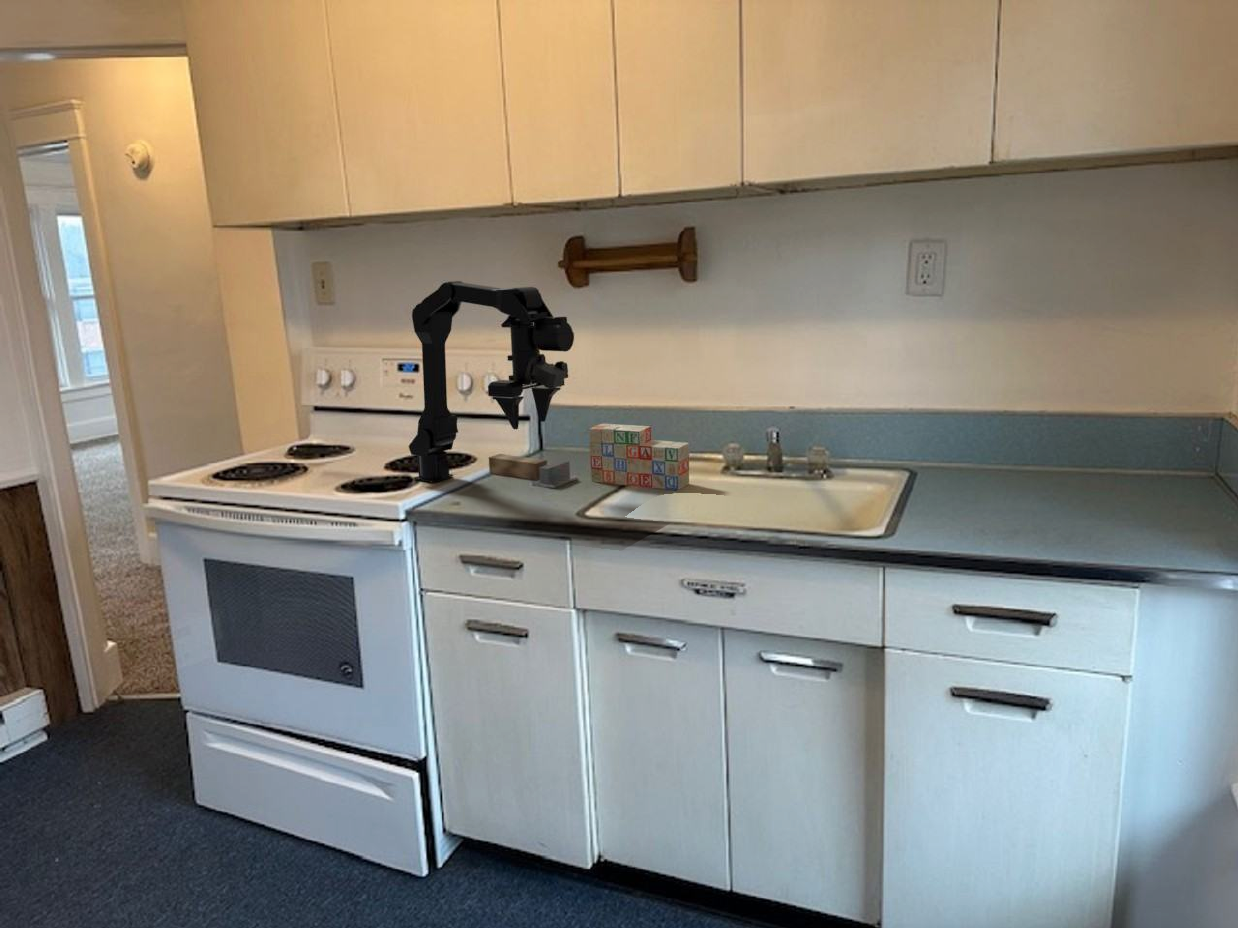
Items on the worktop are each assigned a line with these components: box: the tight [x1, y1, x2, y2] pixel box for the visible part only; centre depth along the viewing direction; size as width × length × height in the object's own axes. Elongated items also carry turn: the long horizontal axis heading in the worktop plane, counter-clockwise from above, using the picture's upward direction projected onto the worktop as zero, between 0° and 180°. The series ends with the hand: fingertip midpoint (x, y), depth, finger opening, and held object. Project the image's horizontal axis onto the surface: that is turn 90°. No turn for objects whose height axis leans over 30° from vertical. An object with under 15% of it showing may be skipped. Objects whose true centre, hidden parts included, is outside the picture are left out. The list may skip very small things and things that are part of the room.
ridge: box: [531, 460, 579, 489], centre depth 192 cm, size 6×9×4 cm, turn 148°
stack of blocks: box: [588, 423, 690, 491], centre depth 189 cm, size 21×6×12 cm, turn 62°
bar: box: [488, 453, 548, 481], centre depth 200 cm, size 14×4×4 cm, turn 56°
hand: (529, 425), depth 180 cm, fingers open, 9 cm apart
